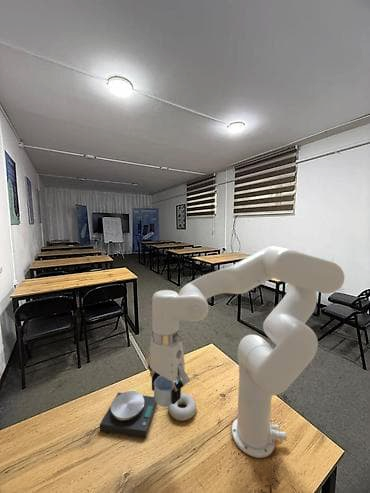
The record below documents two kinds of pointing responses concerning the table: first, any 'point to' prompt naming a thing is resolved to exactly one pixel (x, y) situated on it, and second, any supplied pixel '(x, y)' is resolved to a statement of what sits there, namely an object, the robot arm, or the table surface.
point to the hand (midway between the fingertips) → (165, 393)
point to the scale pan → (127, 405)
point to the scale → (131, 421)
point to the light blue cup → (163, 391)
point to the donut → (183, 412)
